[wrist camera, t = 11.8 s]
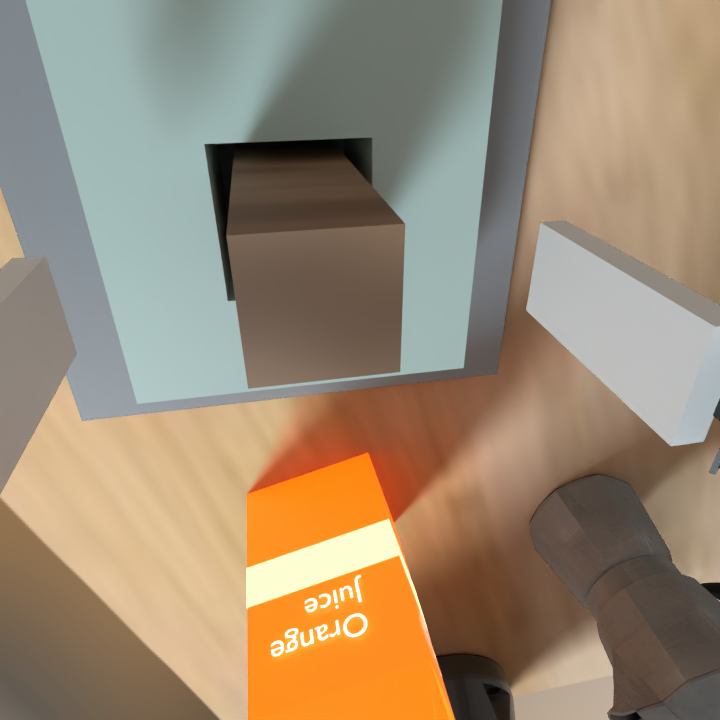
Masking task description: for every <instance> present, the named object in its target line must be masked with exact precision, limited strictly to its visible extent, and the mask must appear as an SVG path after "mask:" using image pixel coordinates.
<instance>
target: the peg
mask: <svg viewBox="0 0 720 720" xmlns="http://www.w3.org/2000/svg"><path fill="white" fill-rule="evenodd" d="M226 237H227V244H228V251H229V258H230V265H231V272H232V279H233V286H234V293H235V300H236V307H237V314H238V321H239V328H240V335H241V342H242V349H243V356H244V363H245V370H246V377H247V384H248V389H250V388H260V387H269V386H278V385H287V384H296V383H305V382H314V381H323V380H333V379H342V378H351V377H360V376H369V375H378V374H387V373H396V372H400V366H401V336H402V307H403V278H404V248H405V223H404V222H403V221H402V219H401V218H400V217H399V216H398V215H397V214H396V213H395V212H394V210H393V209H392V208H391V207H390V206H389V205H388V204H387V203H386V201H385V200H384V199H383V198H382V197H381V196H380V195H379V194H378V192H377V191H376V190H375V189H374V188H373V187H372V186H371V185H370V183H369V182H368V181H367V180H366V179H365V178H364V177H363V176H362V174H361V173H360V172H359V171H358V170H357V169H356V168H355V167H354V165H353V164H352V163H351V162H350V161H349V160H348V159H347V158H346V156H345V155H344V154H343V153H342V152H341V151H340V150H339V149H338V147H337V146H336V145H335V144H334V143H333V142H332V141H331V140H330V139H321V140H296V141H271V142H246V143H235V147H234V157H233V168H232V179H231V190H230V201H229V212H228V222H227V233H226Z"/></svg>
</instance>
